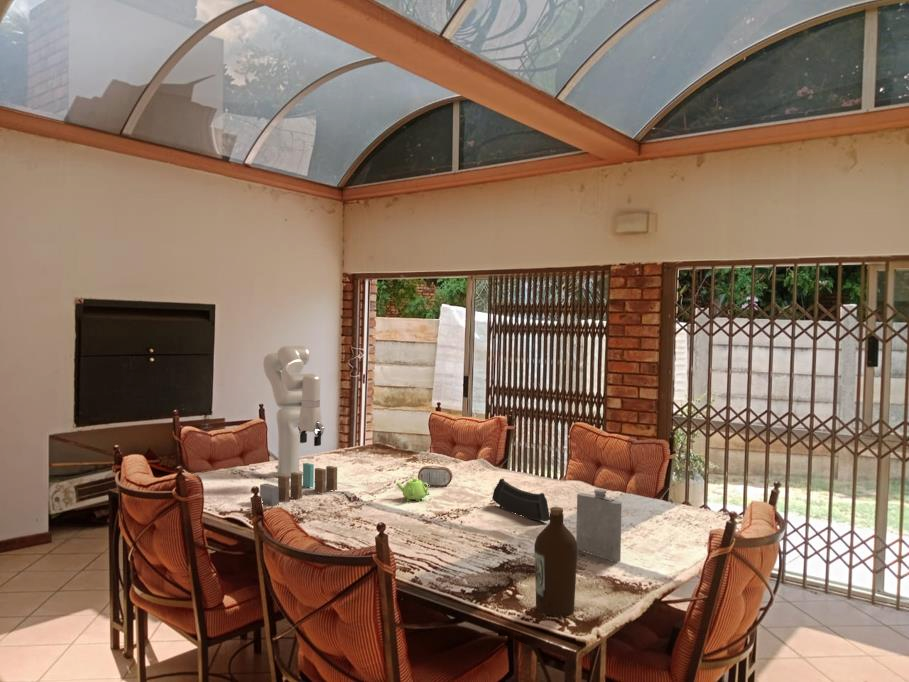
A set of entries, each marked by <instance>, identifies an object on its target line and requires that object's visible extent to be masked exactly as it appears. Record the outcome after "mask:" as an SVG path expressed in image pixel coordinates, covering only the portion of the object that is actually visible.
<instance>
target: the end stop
mask: <svg viewBox="0 0 909 682" xmlns="http://www.w3.org/2000/svg"><path fill="white" fill-rule="evenodd" d="M260 497H261V498H262V501H263V503H264V505H266V504H268V506H270V505H272V506H271V507H274V506H279V504H280V502H279V501H280V500H279V487H278V485H274V484H271V483H267V482H266V483H261V484H260V485H259V498H260ZM263 503H262V504H263ZM277 504H278V505H277Z"/></svg>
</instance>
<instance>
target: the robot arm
mask: <svg viewBox="0 0 909 682" xmlns="http://www.w3.org/2000/svg"><path fill="white" fill-rule="evenodd" d="M308 362H310V351H309V349H308V348H307V347H306V346H304V345H286V346H281V347H280V348H279V349H278V350H277V352H271V353H268V354H266V355H265V356H264V358H263V362H262V364H263V365H262V366H263V370H264V373H265V376H266V378H267V380H268V381H269V383H270V385H271V388H272V393H273V397H274V401H275V404H276V405H277V407H279V409H278V410H277V412H276V425H277V430H278V431H277V433H278V435H277V436H278V438H277V440H278V444H277V445H278V448H277V449H278V455H277V458H278V459H277V461H278V462H277V465H275V466H274V468H275V470H277V471H276V472H274V477H276V478H278V475H280V474H283V475H287V476H289V479H291V472H297V473H301V474H302V476H303V470H302V471H301V470H300V453H301V452H300V450H301V449H300V448H301V447H300V444H304V443H307V441H308V434H307V433H308V432H309V433H313V434H314V438H313V447H318V446H322V436H323V434H324V430H325V426H324V425H323V424H322V413H321V378H320V376H319V375H316V374H315V373H301V372H302V371H303V370H304V367H305V365H307V364H308ZM296 428H297V430H298V432H299V433H298V432H297V431H296V430H295V429H296Z"/></svg>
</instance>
